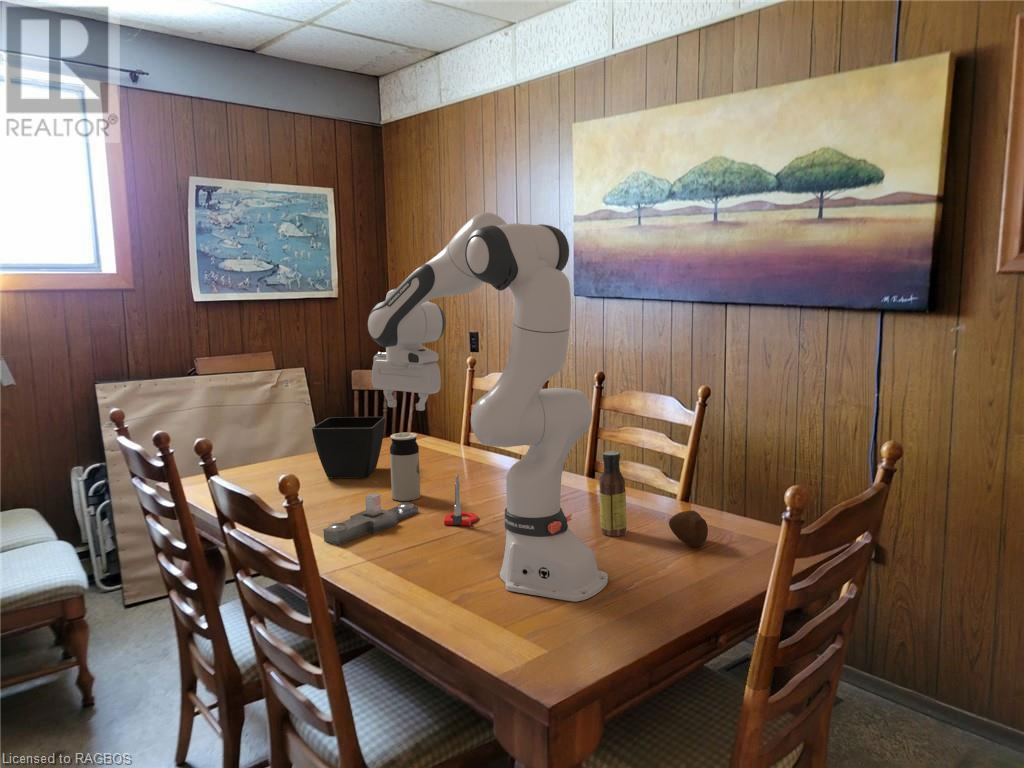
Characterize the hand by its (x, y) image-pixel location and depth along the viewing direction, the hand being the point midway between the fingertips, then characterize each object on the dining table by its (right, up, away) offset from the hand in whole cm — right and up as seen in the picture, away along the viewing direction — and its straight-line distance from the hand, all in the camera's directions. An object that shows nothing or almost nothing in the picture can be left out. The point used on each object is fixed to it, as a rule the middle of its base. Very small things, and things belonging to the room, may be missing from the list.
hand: (406, 408), depth 181 cm
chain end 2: (-5, -29, +5) cm, 30 cm away
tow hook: (+13, -29, +4) cm, 32 cm away
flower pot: (-25, -23, +49) cm, 60 cm away
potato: (+67, -31, -14) cm, 75 cm away
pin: (-8, -30, +1) cm, 31 cm away
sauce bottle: (+51, -30, -7) cm, 59 cm away
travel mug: (-3, -26, +24) cm, 35 cm away
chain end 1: (-11, -30, -4) cm, 32 cm away
